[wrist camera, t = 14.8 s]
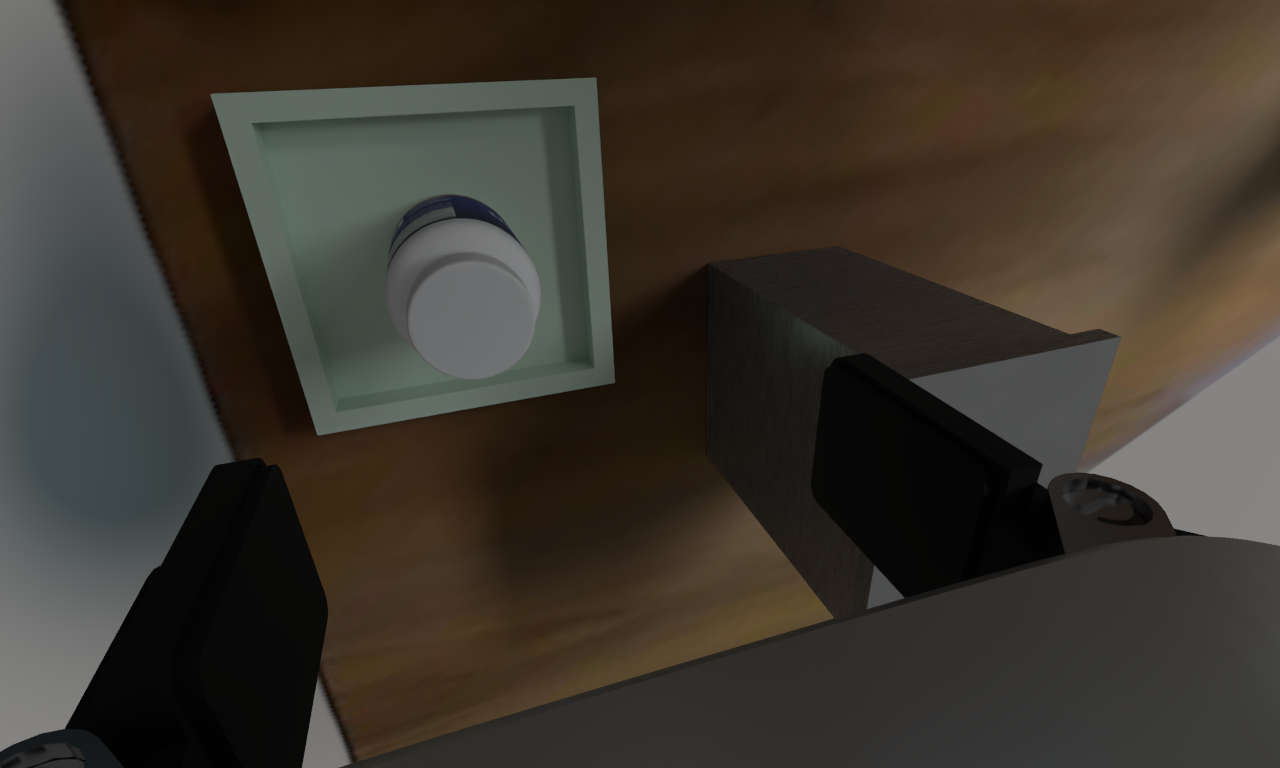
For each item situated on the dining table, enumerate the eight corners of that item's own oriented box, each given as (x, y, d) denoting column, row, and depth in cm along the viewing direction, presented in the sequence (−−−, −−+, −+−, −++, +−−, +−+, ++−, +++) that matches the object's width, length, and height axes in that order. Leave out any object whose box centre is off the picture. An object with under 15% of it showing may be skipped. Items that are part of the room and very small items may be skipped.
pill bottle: (537, 269, 29) (587, 341, 21) (442, 332, 29) (455, 430, 21) (468, 166, 27) (495, 203, 18) (362, 235, 26) (341, 304, 18)
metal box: (848, 238, 35) (1122, 336, 21) (826, 433, 41) (1032, 609, 27) (701, 256, 32) (906, 380, 19) (700, 461, 38) (856, 668, 25)
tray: (584, 77, 27) (596, 77, 25) (604, 367, 33) (615, 382, 32) (225, 93, 24) (210, 94, 22) (323, 415, 30) (317, 435, 28)
